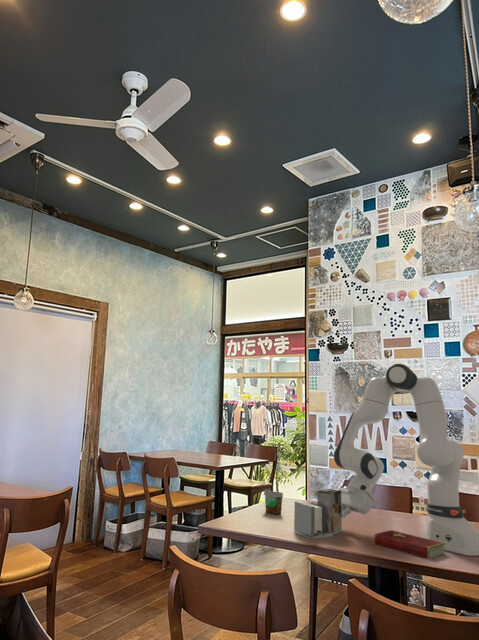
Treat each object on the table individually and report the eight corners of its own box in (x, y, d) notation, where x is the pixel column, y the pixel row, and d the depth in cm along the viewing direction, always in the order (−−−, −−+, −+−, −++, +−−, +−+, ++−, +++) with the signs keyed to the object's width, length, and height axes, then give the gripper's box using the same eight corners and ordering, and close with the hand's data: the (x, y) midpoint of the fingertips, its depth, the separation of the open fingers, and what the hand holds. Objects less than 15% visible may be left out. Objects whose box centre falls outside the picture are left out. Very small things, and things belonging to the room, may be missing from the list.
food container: (258, 510, 219) (259, 488, 221) (269, 510, 222) (270, 488, 224) (271, 516, 208) (271, 493, 210) (282, 515, 211) (283, 492, 213)
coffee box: (327, 529, 187) (328, 488, 191) (342, 532, 183) (341, 490, 187) (316, 533, 181) (317, 490, 184) (331, 536, 177) (331, 492, 180)
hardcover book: (428, 560, 152) (428, 547, 153) (374, 545, 168) (374, 533, 168) (445, 555, 160) (445, 542, 160) (391, 541, 175) (391, 529, 176)
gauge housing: (333, 536, 175) (333, 505, 178) (311, 539, 171) (311, 506, 173) (315, 530, 185) (315, 500, 187) (294, 532, 180) (294, 501, 183)
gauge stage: (327, 532, 175) (327, 506, 177) (316, 533, 173) (316, 507, 175) (313, 527, 183) (313, 502, 185) (302, 528, 181) (303, 503, 183)
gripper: (338, 481, 201) (320, 505, 194) (371, 488, 183) (353, 516, 177) (346, 491, 202) (328, 516, 195) (379, 499, 184) (362, 527, 178)
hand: (340, 516), depth 186 cm, fingers closed
